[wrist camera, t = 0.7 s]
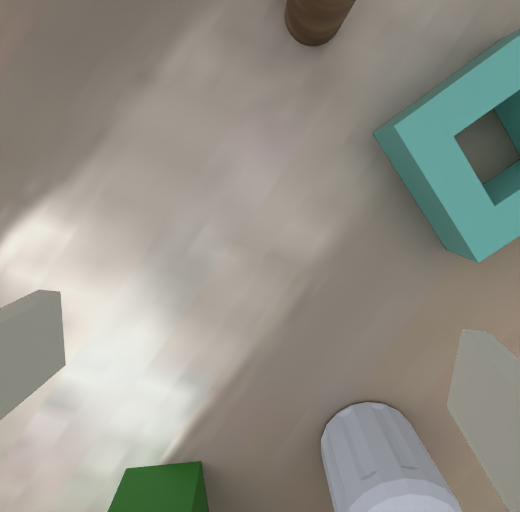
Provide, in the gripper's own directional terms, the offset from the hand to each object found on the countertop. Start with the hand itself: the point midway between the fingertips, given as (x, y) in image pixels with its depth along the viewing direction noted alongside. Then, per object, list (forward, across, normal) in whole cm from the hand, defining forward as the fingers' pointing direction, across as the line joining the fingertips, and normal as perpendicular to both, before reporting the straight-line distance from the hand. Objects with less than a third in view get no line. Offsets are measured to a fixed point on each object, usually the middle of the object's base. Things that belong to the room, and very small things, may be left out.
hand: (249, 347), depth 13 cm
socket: (+23, +15, +8) cm, 29 cm away
